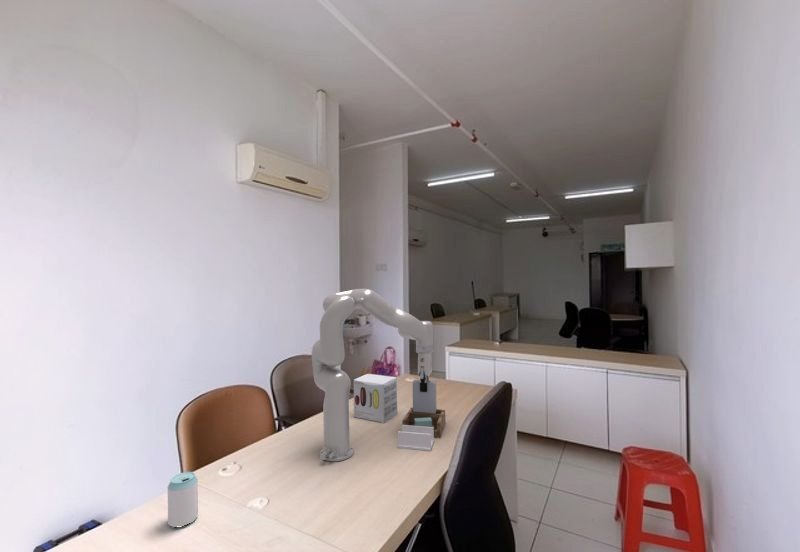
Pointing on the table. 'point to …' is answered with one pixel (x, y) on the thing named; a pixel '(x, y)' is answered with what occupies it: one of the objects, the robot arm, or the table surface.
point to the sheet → (424, 397)
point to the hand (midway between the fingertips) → (424, 390)
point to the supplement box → (375, 397)
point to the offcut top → (423, 422)
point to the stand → (416, 438)
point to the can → (182, 499)
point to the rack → (437, 417)
